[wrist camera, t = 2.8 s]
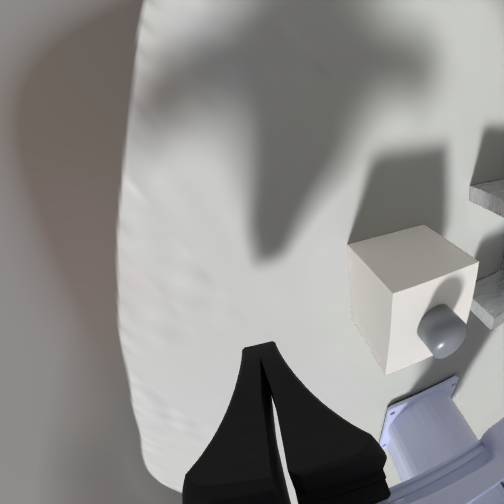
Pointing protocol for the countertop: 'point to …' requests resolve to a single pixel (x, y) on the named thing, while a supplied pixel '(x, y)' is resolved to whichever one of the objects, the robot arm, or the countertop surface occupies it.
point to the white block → (410, 295)
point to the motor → (500, 283)
